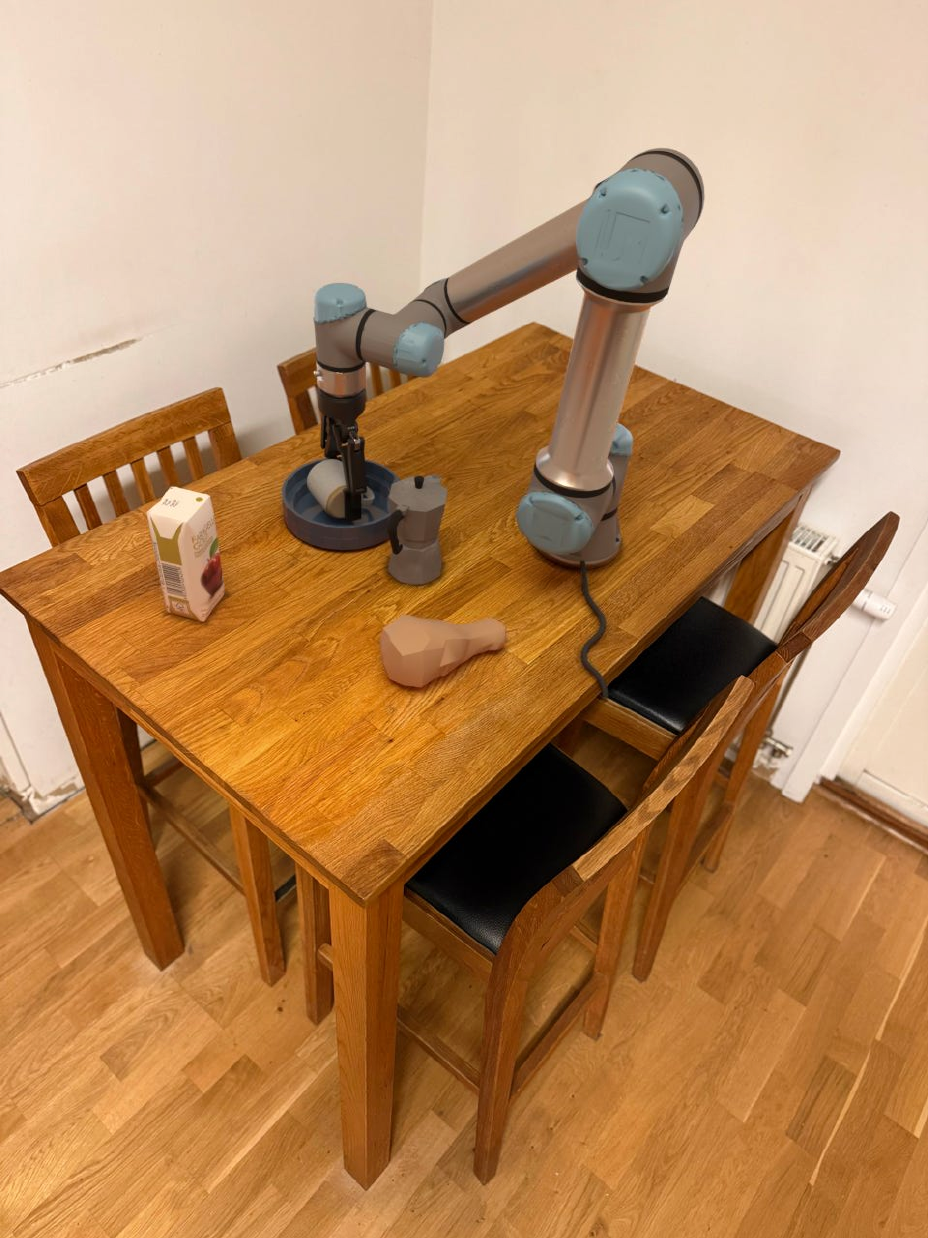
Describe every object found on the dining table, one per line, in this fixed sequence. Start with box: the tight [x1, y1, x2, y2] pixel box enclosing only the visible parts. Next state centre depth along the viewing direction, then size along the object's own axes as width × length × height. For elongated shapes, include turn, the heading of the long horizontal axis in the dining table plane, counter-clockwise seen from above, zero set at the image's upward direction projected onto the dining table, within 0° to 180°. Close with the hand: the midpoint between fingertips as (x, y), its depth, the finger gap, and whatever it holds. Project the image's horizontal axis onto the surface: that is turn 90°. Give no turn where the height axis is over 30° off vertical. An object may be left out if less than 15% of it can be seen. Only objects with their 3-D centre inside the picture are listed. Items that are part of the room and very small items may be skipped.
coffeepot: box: [387, 473, 448, 586], centre depth 140 cm, size 15×9×18 cm, turn 153°
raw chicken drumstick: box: [378, 613, 507, 688], centre depth 129 cm, size 11×20×9 cm, turn 121°
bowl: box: [281, 456, 401, 551], centre depth 153 cm, size 21×21×6 cm
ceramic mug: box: [307, 459, 374, 519], centre depth 151 cm, size 11×8×8 cm
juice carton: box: [146, 486, 225, 623], centre depth 130 cm, size 8×9×19 cm
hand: (343, 504), depth 154 cm, fingers closed on ceramic mug, 8 cm apart
